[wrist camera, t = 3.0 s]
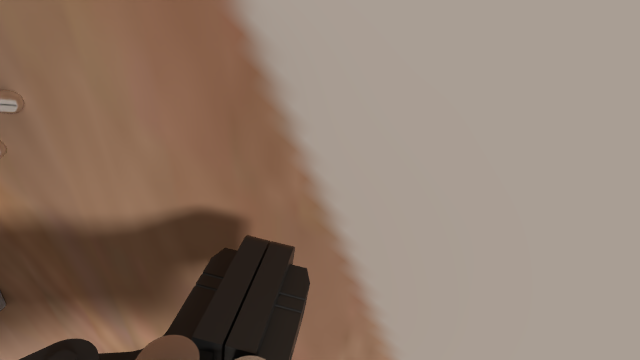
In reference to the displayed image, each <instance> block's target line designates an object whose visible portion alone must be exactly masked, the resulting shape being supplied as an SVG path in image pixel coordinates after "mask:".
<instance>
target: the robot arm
mask: <svg viewBox="0 0 640 360" xmlns="http://www.w3.org/2000/svg"><path fill="white" fill-rule="evenodd" d="M294 251H295V247H293V246H289V245H285V244H281V243H277V242H273V241H272V242H270V241H268V240H264V239H260V238H256V237H252V236H248V235H247V236H246V237H245V238H244V240H243V242H242V244H241V246H240V247H239V249H238V251H236V250H232V249H228V248H224V249H223V250H222V251H220V252H219V253H218V254H216V255H215V256H214V257H212V258H211V260H210V261H209V263H208V265H207V266H206V268H205V270H204V271H203V274H202V275H201V276H200V278H199V279H198V281H197V283H196V286H194V288H193V289H192V291H191V293H190V294H189V296H188V298H187V299H186V301H185V303H184V304H183V306H182V308H181V309H180V311H179V313H178V314H177V316H176V318H175V319H174V321H173V322H172V324H171V326H170V327H169V329H168V330H167V332H166V333H165V334H164V335H163V336H162V337H160V338H158V339H156V340H154V341H152V342H151V343H149V344H148V345H147V346H146V347H145V348H144V349H141V350H137V351H132V352H120V353H102V354H98V351H97V349H96V347H95V346H94V345H93V344H92V343H90V342H89V341H86V340H83V339H67V340H63V341H60V342H57V343H55V344H52V345H50V346H48V347H46V348H43V349H41V350H39V351H37V352H35V353H32V354H30V355H28V356H26V357H24V358H21V359H19V360H291V359H292V355H293V352H294V348H295V344H296V340H297V337H298V333H299V329H300V326H301V322H302V318H303V314H304V310H305V305H306V300H307V295H308V290H309V286H310V281H309V277H308V272H307V268H303V267H299V266H295V265H292V264H293V258H294Z"/></svg>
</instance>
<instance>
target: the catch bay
mask: <svg viewBox="0 0 640 360" xmlns="http://www.w3.org/2000/svg"><path fill="white" fill-rule="evenodd" d="M5 306H6V303H5V301H4V299H3V297H2V295H1V292H0V311H1V310H2V309H3V308H4V307H5Z"/></svg>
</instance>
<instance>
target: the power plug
mask: <svg viewBox="0 0 640 360" xmlns="http://www.w3.org/2000/svg"><path fill="white" fill-rule="evenodd" d="M23 108H24V100H23V98H22V96H21V95H20V94H18V93H17V92H14V91H10V90H0V113H7V114H13V113H18V112H20V111H22V109H23ZM6 152H7V147H6V145H5V144H4V143H3V142H2V141H1V140H0V158H2V157H3V156H4V155H5V154H6Z"/></svg>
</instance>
